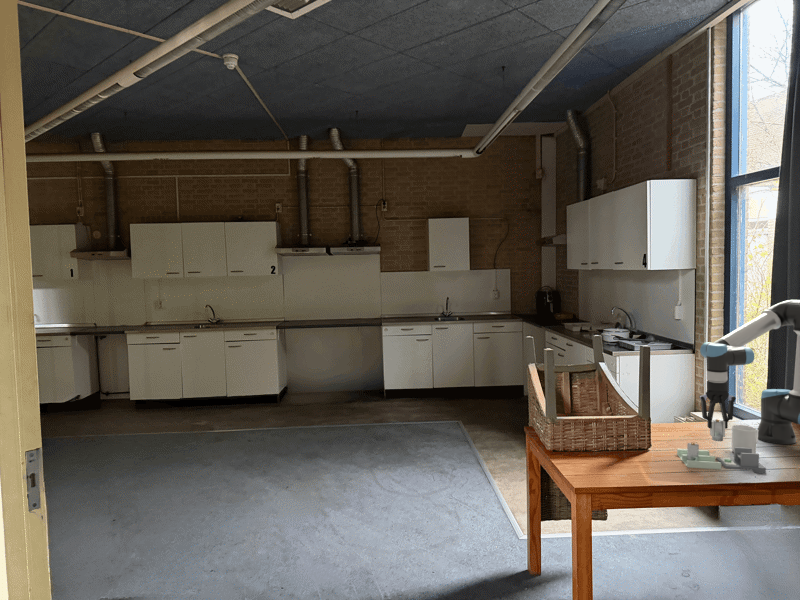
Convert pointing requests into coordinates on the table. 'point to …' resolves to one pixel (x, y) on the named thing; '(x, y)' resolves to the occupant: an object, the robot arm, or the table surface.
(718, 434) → the cell
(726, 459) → the grey mounting bracket
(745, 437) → the mug
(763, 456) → the table surface
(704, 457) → the tray
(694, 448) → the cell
